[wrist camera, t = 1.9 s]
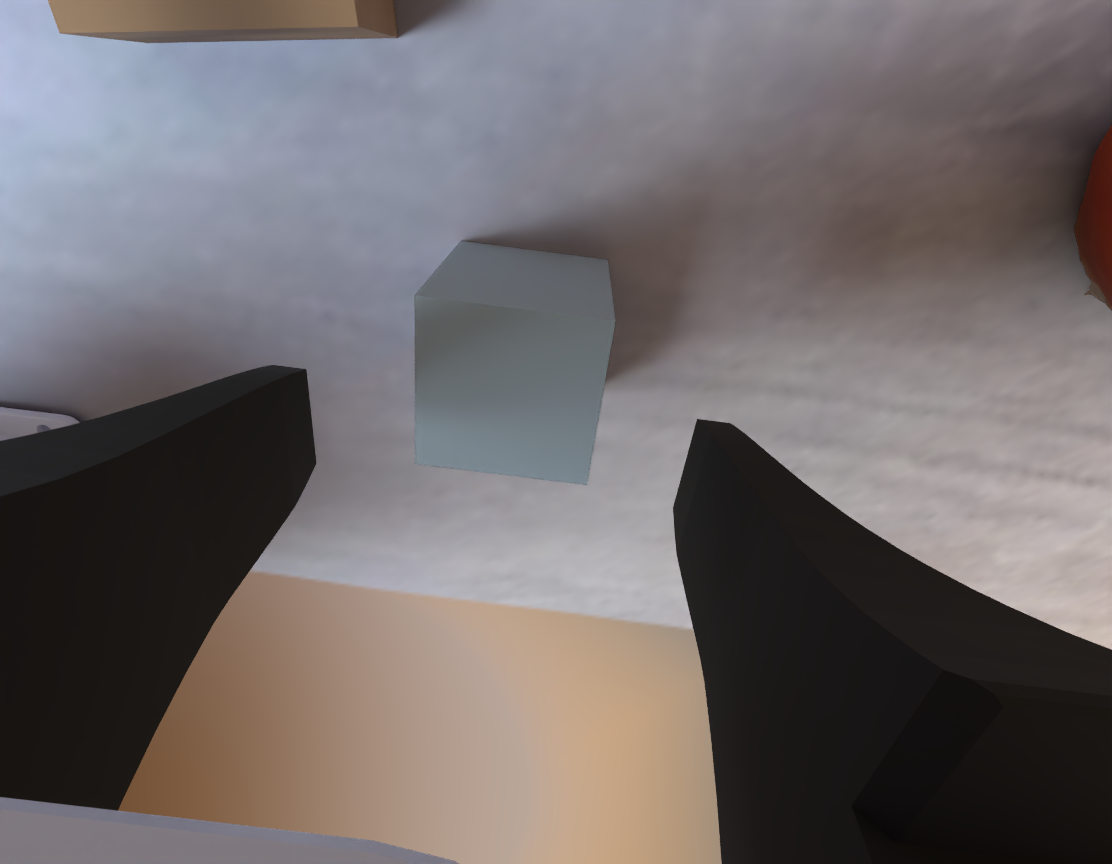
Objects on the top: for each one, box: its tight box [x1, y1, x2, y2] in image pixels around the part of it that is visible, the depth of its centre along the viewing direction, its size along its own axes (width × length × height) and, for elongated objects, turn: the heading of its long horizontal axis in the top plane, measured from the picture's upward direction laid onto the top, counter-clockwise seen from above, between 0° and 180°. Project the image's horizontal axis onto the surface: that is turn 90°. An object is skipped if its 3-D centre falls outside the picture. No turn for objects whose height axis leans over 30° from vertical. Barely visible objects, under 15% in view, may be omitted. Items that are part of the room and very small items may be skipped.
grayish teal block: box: [415, 241, 616, 485], centre depth 15 cm, size 4×4×5 cm
